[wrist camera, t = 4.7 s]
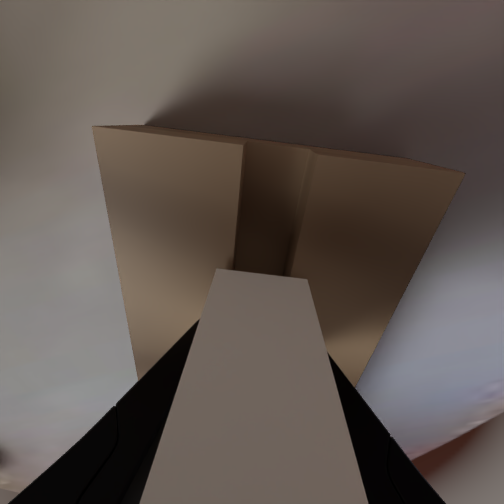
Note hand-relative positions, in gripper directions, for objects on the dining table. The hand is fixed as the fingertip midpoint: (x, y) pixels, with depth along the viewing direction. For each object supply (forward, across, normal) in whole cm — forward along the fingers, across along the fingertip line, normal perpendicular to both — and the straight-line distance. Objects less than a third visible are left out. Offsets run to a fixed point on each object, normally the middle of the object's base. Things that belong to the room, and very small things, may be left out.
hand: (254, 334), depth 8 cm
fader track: (+4, 0, +5) cm, 6 cm away
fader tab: (+2, 0, 0) cm, 2 cm away
